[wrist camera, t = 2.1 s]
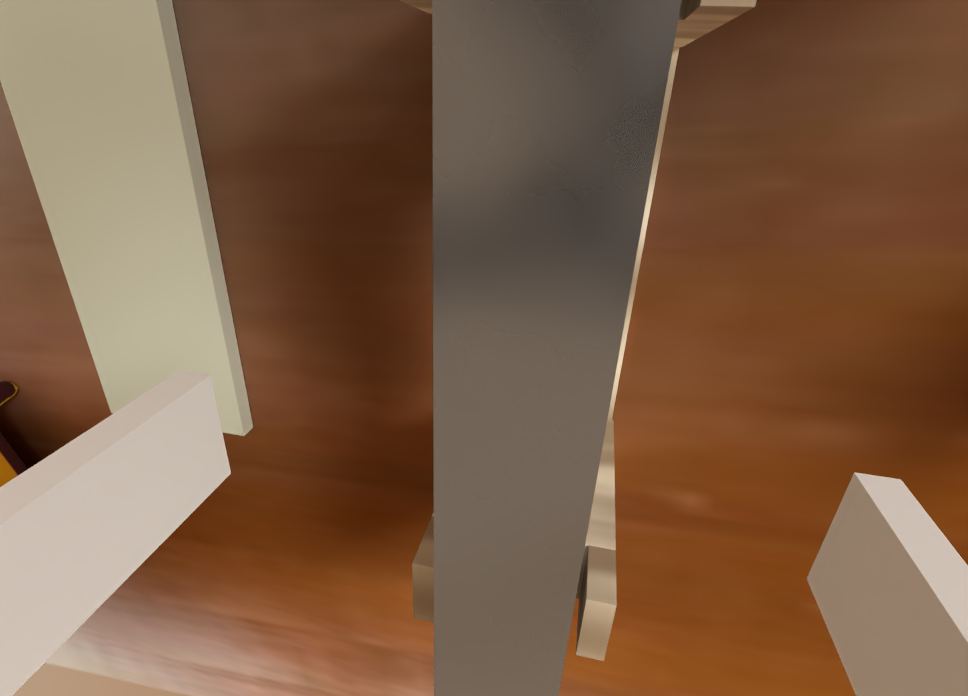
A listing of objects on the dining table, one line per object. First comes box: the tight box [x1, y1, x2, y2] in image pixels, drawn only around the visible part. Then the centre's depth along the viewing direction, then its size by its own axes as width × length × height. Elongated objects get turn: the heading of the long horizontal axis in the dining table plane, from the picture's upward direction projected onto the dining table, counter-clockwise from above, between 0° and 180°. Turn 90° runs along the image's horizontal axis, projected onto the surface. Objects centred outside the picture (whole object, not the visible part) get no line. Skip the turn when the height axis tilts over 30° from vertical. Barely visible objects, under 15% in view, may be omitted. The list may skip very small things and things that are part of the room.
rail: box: [432, 0, 682, 696], centre depth 14 cm, size 26×4×5 cm, turn 178°
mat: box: [0, 0, 253, 436], centre depth 29 cm, size 28×10×1 cm, turn 178°
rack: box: [398, 0, 757, 661], centre depth 20 cm, size 26×7×12 cm, turn 178°
